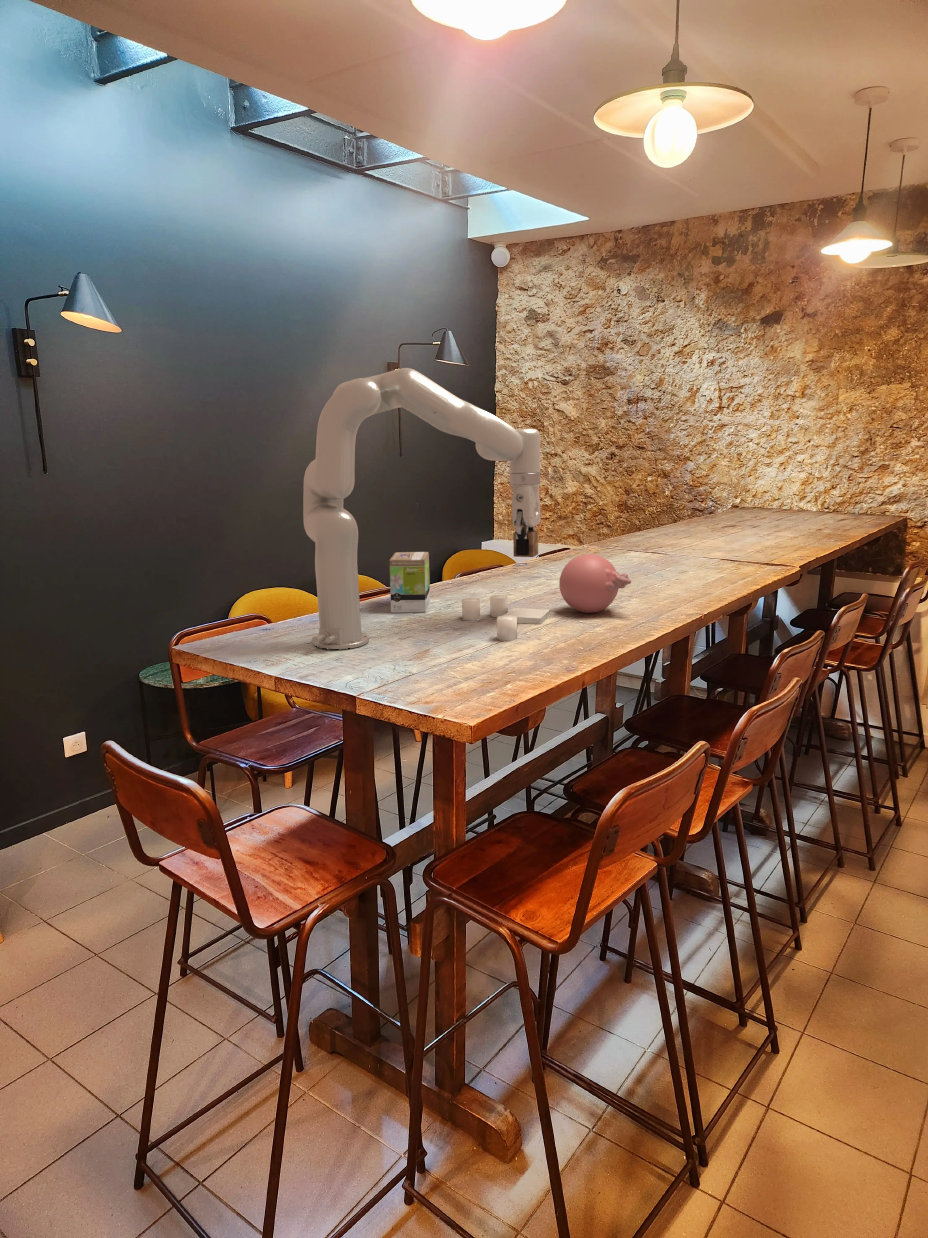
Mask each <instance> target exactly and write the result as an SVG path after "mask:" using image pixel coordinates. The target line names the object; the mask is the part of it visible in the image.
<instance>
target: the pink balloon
mask: <svg viewBox="0 0 928 1238" xmlns="http://www.w3.org/2000/svg"><path fill="white" fill-rule="evenodd" d="M559 576H560V577H559V591H560V594H561V597H562V599H563V600H564V602H565V603H566V604H567V606H569V607H571V608H572V609H573V610H575V611H577V612H580V613H584V614H594V613H598V612H602V610H605V609H606V608H608V607H609V606H610V605H612V603H613V602H614V600H616V598H617V594H618V592H619V589H625V588H626V587H627V585H630V584H631V583H632V581H631V579H630V578H629V574H628V573H622V574H620V573H619V572H618V571H617V569H616V568H615V566H614V565H613V564H612V563H611V561H609V560H608V559H606V558H605V557H603V556H601V555H598V554H595V553H594V554H591V553H585V554H580V555H578V556H575V557H574V558H573V559H570V560H569V561H568V562H567V564H566V565H564V567H563V569H562V571H561V572H560V575H559Z"/></svg>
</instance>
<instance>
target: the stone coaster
mask: <svg viewBox="0 0 928 1238" xmlns="http://www.w3.org/2000/svg"><path fill="white" fill-rule="evenodd" d="M504 615H511V616H516V617H517V624H531V625H541V624H542V623H544V620H545V619H546V620H547V619H548V618H549V617H550V616H551V609H541V608H525V607H523V608H521V607H513V608H511V609H510V610H508V612H507V613H506V614H504ZM549 615H550V616H549ZM548 616H549V617H548ZM547 617H548V618H547ZM546 620H545V621H546Z"/></svg>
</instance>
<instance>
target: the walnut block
mask: <svg viewBox="0 0 928 1238" xmlns="http://www.w3.org/2000/svg"><path fill="white" fill-rule="evenodd" d="M524 533H525V530H524ZM512 535H513V543H512V544H513V557H514V558H515V557H516V558H517V557H518V558H519V557H520V558H534V557H536V556H537V555H539V530H536V529H535V530H528V539H529V555H517V554H516V531H514V532H513V534H512Z"/></svg>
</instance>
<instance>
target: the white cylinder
mask: <svg viewBox="0 0 928 1238" xmlns="http://www.w3.org/2000/svg"><path fill="white" fill-rule="evenodd" d="M489 600H490V601H489V607H490V608H489V610H490V611H489V612H490V615H489V616H490V617H491V616H492V618H497V617H499V616H503V615H504V614H506V613H507V612H508V611H509V610H508V609H509V603H508V601H509V599H508V596H507V595H504V594H501V595H500V594H498V595H495V594H494V595H491V596H489Z"/></svg>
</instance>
